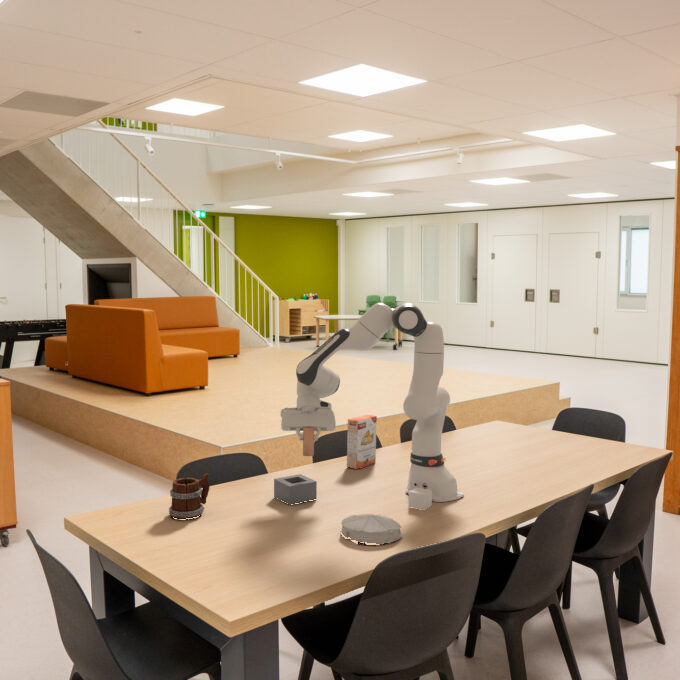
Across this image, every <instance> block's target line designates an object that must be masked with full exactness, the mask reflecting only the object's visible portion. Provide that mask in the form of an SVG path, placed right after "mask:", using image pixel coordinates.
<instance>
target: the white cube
mask: <svg viewBox="0 0 680 680" xmlns="http://www.w3.org/2000/svg"><path fill="white" fill-rule="evenodd" d="M432 503H433V501H432V490H428V489H423V488H418V487H417V488H415V489H413V490H411V491H409V494H408V508H409V507H413V508H417V509H421V510H425V509H427V508H428V509H430V508H431V507H430V506H432V505H433V504H432ZM429 507H430V508H429ZM428 509H427V510H428ZM421 510H420V511H421ZM425 511H426V510H425Z"/></svg>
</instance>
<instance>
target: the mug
mask: <svg viewBox="0 0 680 680" xmlns="http://www.w3.org/2000/svg"><path fill="white" fill-rule="evenodd" d="M209 477H210V473H208V472H207V473H205V472H204V474H203V475H202V476H201V477H200V478H199V479H197V478H194V477H186V478H184V477H181V478H177V479H175V480H173V481H172V488H171V489H170V490H169V493H170V497H171V505H170V506H169V507H168V514H169V515H170V517H171V516H172V517H174V518H177V519H186V518H193V517H197V516H199V515H201V514H202V515H203V512H204V511H205V506H204V505H205V504H206V503H207V498H208V494H209V491H210V487H211V485H210V481H209ZM200 486H201V487H200ZM202 515H201V516H202Z"/></svg>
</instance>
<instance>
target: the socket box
mask: <svg viewBox="0 0 680 680" xmlns="http://www.w3.org/2000/svg"><path fill="white" fill-rule="evenodd" d="M317 491H318V490H317V481H316V480H314V479H311V478H310V477H308V476H306V475H303V474H301V473H299V474H298V473H297V474H294V475H289V476H283V477H282V476H281V477H278V478H274V479H273V498H274V497H276V498H278V499H280V500H282V501H284V502H286V503H288V504H289V505H291V504H295V503H300V502H304V501H309V500H314V499H317ZM276 498H275V499H276ZM278 499H277V500H278ZM280 500H279V501H280ZM317 500H318V499H317ZM289 505H288V506H289Z"/></svg>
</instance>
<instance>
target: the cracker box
mask: <svg viewBox="0 0 680 680" xmlns="http://www.w3.org/2000/svg"><path fill="white" fill-rule="evenodd" d="M377 419H378V418H377V416H376V415H373V414H372V415H371V414H364V415H360V416H356V417H352V418H349V419H348V418H347V438H346V439H347V440H346V441H347V442H346V445H347V446H346V448H347V449H346V450H347V451H346V468H348V467H350V469H353V468H354V470H359V469H358V468H360V469H361V467H363V468H365V467H368V466H371V465H374V464H376V458H377V456H376V455H377V453H376V451H377V424H378V423H377ZM373 463H374V464H373ZM370 464H371V465H370ZM367 465H368V466H367ZM364 466H365V467H364Z"/></svg>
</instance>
